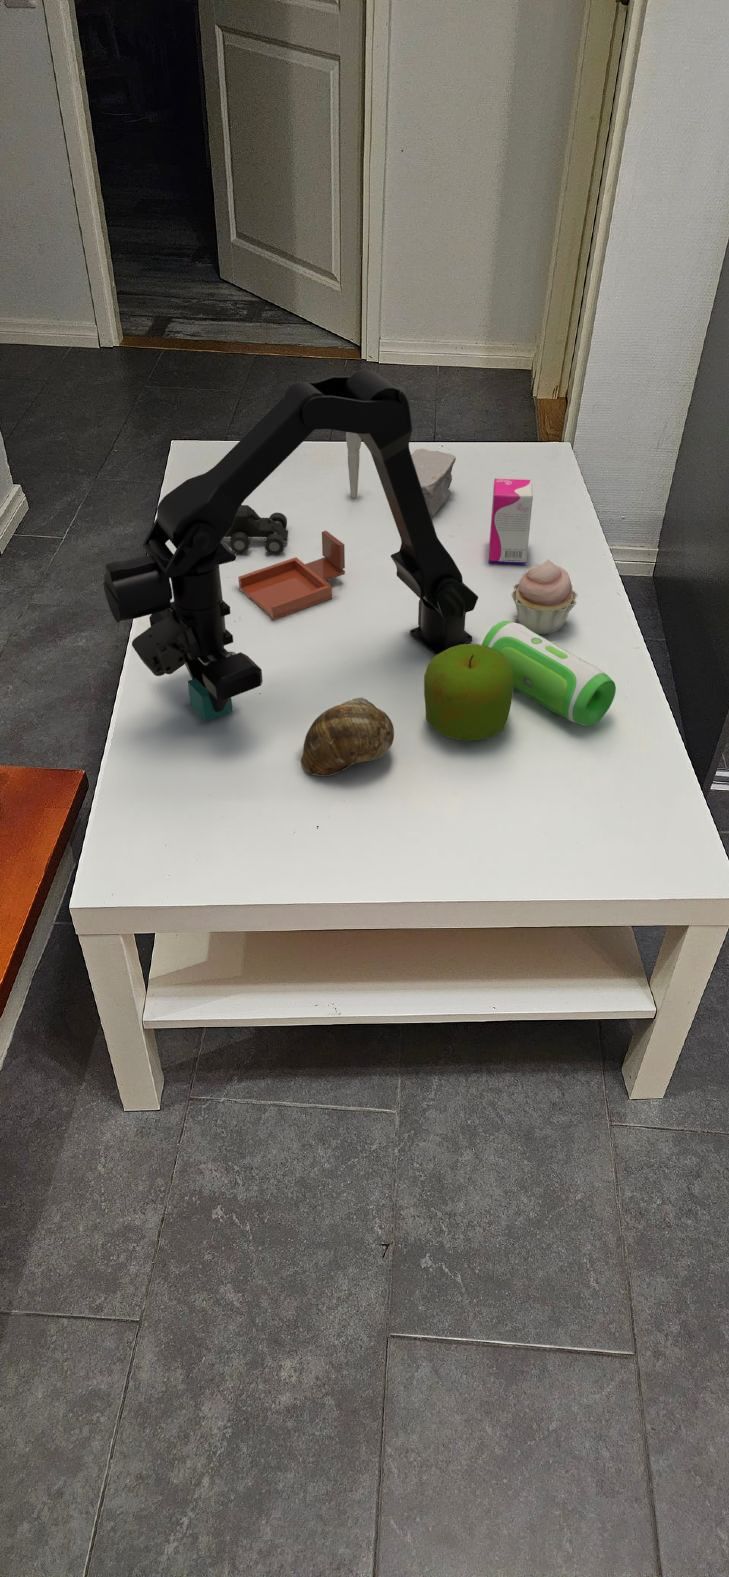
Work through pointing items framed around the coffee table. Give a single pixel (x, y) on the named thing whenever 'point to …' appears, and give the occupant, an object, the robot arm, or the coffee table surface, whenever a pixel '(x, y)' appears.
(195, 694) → the block
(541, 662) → the speaker
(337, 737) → the seashell
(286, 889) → the coffee table surface
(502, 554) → the supplement box
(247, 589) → the orange handled tray
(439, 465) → the decorative stone
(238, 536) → the toy vehicle
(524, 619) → the cupcake
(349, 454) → the grey pointed rod
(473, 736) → the apple
